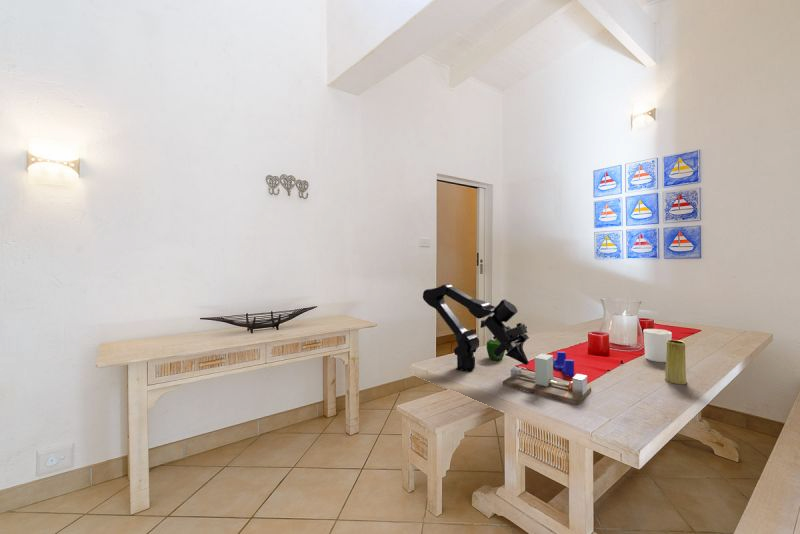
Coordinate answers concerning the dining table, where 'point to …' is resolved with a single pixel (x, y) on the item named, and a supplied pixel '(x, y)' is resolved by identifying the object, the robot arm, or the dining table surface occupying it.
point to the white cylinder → (656, 344)
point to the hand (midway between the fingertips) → (527, 364)
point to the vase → (675, 362)
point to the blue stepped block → (564, 364)
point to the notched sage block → (543, 369)
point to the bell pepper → (491, 346)
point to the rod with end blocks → (575, 385)
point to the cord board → (546, 389)
